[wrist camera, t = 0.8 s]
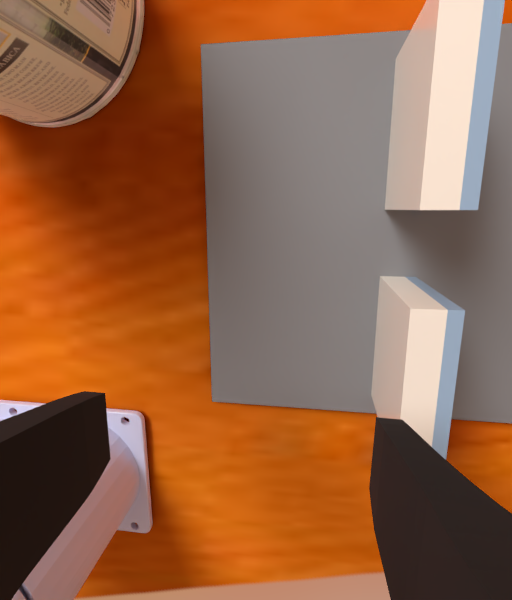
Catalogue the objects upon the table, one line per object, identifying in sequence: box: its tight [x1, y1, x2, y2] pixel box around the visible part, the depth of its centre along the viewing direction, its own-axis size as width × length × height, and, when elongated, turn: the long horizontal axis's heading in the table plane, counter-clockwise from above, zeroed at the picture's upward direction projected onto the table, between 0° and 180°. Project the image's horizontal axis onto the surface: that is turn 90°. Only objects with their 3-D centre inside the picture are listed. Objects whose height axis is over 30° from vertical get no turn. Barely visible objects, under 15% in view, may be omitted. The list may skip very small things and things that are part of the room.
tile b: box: [385, 0, 505, 210], centre depth 13 cm, size 2×6×6 cm, turn 0°
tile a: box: [371, 276, 465, 460], centre depth 15 cm, size 2×6×6 cm, turn 0°
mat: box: [201, 23, 512, 423], centre depth 18 cm, size 17×17×1 cm
